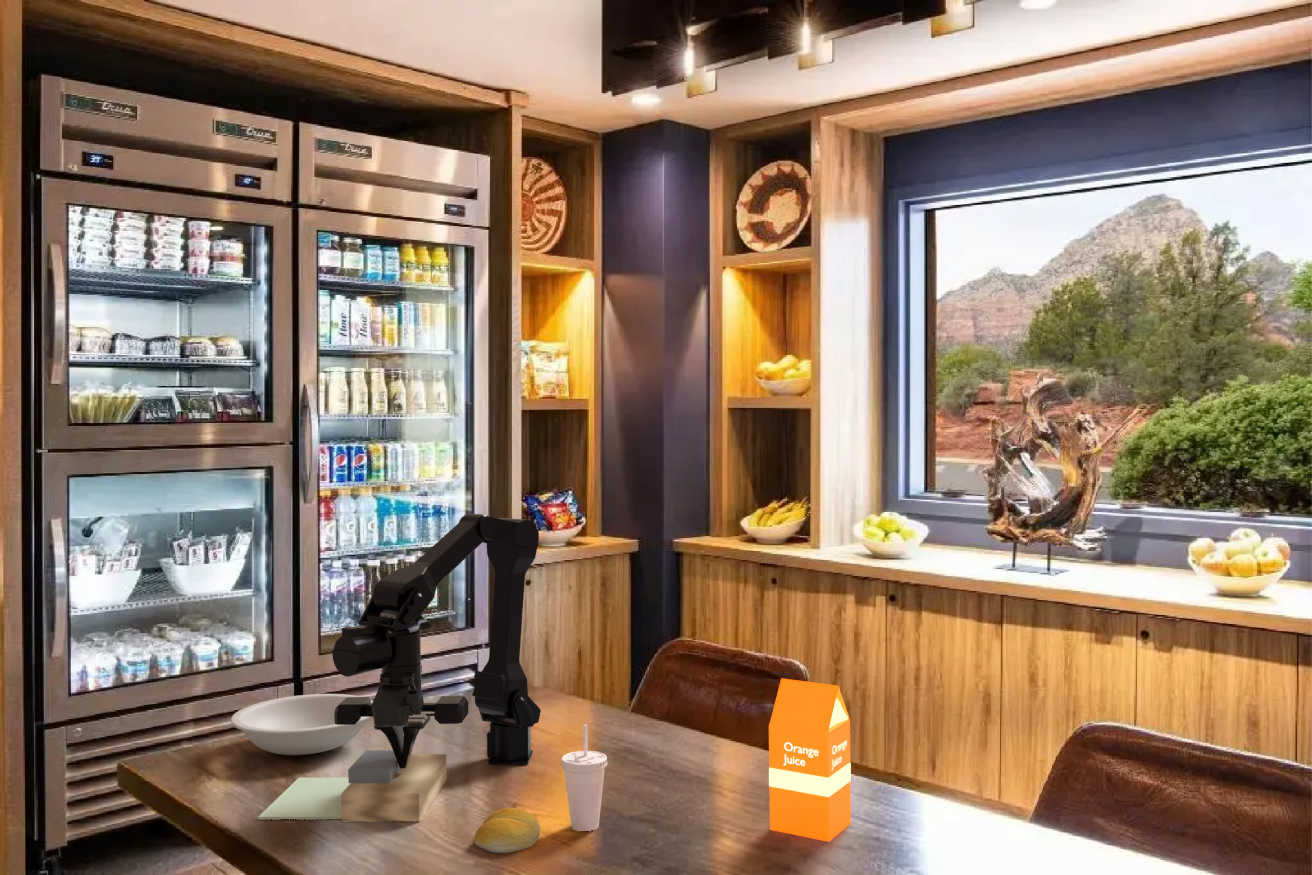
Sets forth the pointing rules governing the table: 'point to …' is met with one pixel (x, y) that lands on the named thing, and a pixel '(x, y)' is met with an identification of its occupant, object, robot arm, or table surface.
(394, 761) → the grey bevelled block
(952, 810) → the table surface
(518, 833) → the bread roll
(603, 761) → the smoothie
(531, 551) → the robot arm
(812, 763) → the orange juice
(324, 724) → the soup bowl
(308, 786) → the mat
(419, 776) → the wooden block
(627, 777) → the table surface
